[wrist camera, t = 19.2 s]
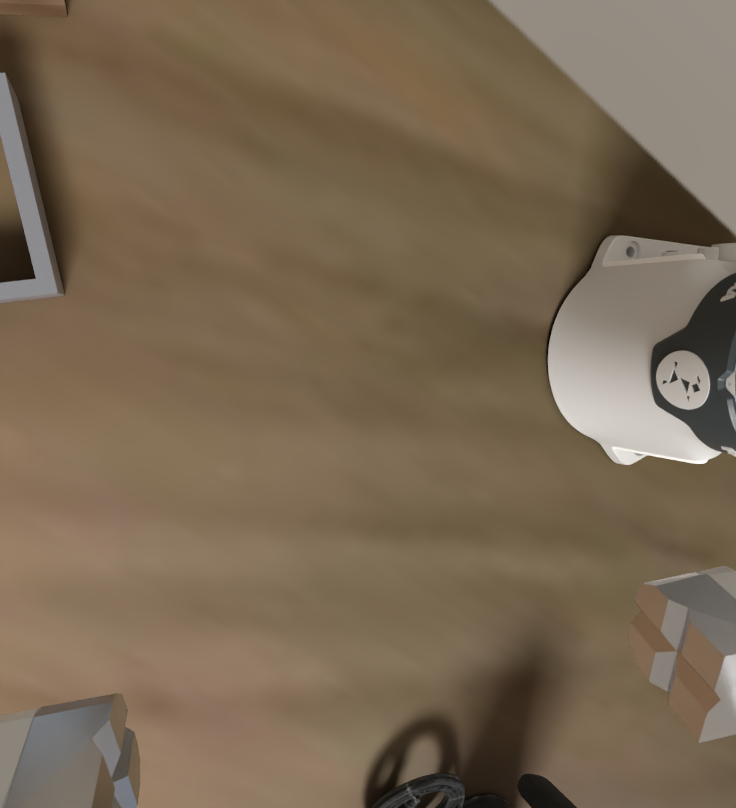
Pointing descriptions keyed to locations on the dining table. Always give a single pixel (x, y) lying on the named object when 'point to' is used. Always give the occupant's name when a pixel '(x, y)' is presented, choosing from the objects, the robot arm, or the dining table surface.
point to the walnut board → (33, 7)
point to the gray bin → (26, 205)
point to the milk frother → (533, 788)
